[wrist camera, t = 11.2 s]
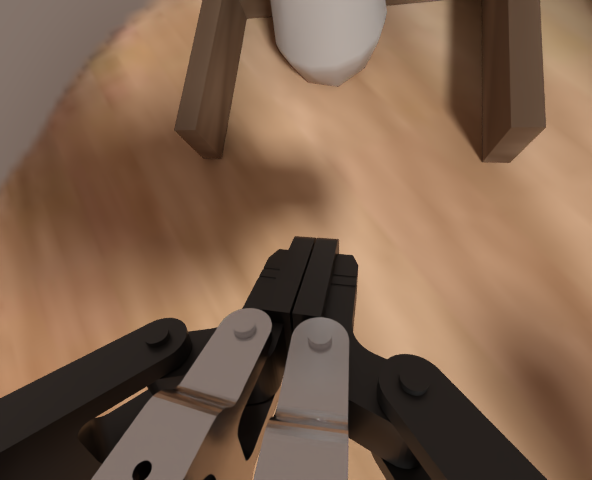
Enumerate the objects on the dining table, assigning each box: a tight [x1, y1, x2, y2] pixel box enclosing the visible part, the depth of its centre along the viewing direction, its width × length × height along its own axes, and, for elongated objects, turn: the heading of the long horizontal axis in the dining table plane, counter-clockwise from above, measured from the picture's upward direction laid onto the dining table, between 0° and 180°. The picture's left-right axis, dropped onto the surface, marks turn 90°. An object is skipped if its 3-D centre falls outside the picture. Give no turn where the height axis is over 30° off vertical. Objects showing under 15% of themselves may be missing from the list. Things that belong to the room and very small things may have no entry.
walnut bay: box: [174, 0, 546, 163], centre depth 15 cm, size 18×11×6 cm, turn 84°
